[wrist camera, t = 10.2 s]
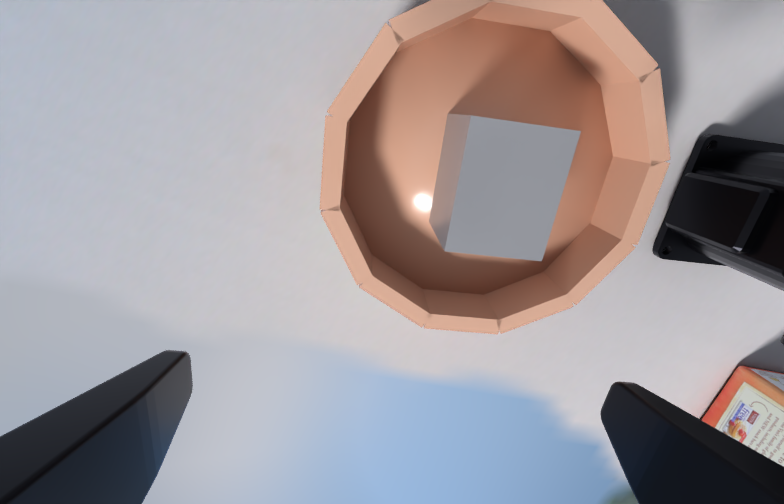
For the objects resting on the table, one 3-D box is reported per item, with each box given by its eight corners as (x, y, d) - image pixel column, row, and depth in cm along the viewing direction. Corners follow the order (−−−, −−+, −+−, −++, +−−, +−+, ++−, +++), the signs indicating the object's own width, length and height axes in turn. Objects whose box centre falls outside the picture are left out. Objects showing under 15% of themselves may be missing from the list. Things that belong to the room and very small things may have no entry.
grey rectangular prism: (533, 125, 17) (581, 131, 13) (506, 230, 18) (541, 261, 15) (447, 113, 16) (471, 115, 12) (428, 221, 18) (444, 251, 14)
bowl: (656, 34, 16) (727, 16, 13) (563, 306, 21) (598, 342, 18) (343, -21, 15) (336, -57, 12) (321, 284, 20) (312, 319, 17)
